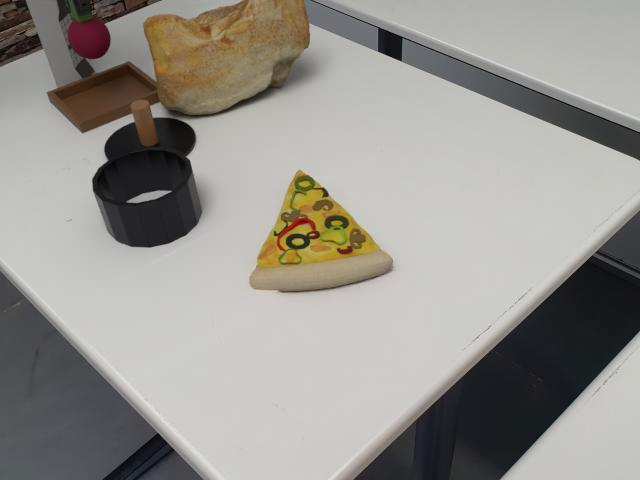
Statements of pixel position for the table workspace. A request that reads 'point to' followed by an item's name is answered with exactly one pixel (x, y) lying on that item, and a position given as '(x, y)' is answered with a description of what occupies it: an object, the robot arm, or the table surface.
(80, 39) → the beet
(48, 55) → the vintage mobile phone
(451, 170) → the table surface
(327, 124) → the table surface
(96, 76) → the tray
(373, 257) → the pizza slice
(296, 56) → the bread loaf
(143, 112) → the lid
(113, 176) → the pot
